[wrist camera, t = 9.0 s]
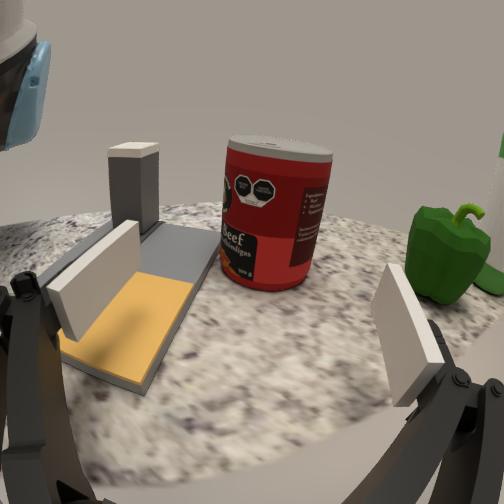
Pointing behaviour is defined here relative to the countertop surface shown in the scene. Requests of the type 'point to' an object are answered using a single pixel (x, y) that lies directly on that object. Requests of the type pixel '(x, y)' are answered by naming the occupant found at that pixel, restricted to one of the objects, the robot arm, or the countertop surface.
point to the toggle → (134, 183)
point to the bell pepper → (445, 252)
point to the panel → (141, 304)
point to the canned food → (272, 209)
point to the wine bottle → (494, 233)
